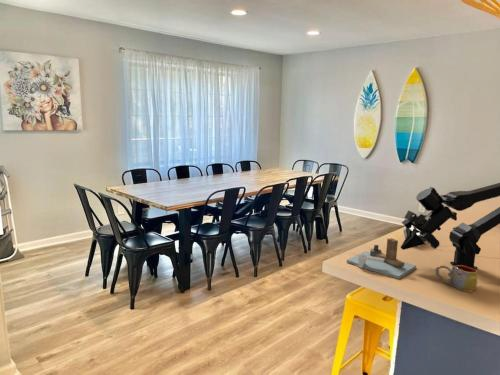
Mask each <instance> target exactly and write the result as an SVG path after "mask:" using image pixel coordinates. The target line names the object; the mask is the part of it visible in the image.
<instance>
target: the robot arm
mask: <svg viewBox="0 0 500 375" xmlns="http://www.w3.org/2000/svg"><path fill="white" fill-rule="evenodd" d="M497 197H500V182H498V183H494V184H491V185H485V186H484V187H479V188H475V189H471V190H457V191H456V190H455V191H449V192H447V193H446V194H444V195H443V194H441V195H440V194H439V193H438V191H437V189H436V188H435V187H433V186H430V187H428V188H426V189H424V190H422V191H420V192H418V193H417V195H416V197H415V199H416V200H417V201H418V202H419V203H420V205H421V206H422V207H423V208H424V210H426V211H428V212H429V211H430V212H429V213H428V214H422V213H421V212H418V213H415V212H413V211H411V210H407V213H406V214H405V215H404V220H403V221H401V224H402V225H403V226H404V227H406V228H407V230H408V235H407V237H406V239H405V238H404V240H403V242H402V244H401V246H400V249H401V250H408V249H411V248H415V247H417V246H420V245H422V246H426V245H427V244H426V243H428V244H429V245H430V247H431V248H432V249H434V250H436V249H437V248H438V247H439V246H440V240H438V238H436V236H435V235H434V234H433V233H434V232H436V231H440V230H442V228H441V227H442V225H443V224H445V223H446V222H447V221H448V220H450V219H451V220H453V221H457V220H458V217H457V215H458V213H457V212H458V211H459V212H462V211H465V210H467V209H469V208H471V207H473V206H474V204H476V203H477V204H478V203H480V202H482V201H488V200H489V199H490V200H492V199H494V198H497ZM444 205H445V206H444ZM452 209H453V210H455V211H456V212H455V211H453V210H452ZM499 225H500V206H499V207H497V208H496V209H494V210H492V211H491V212H489V213H488V214H486V215H484V216H482V217H481V218H479V219H478V220H476V221H474V222H472V223H471V224H466V223H464V222H461V223H460V224H458V225H457V226H455V227H452V230H451V231H450V232H449V235H448V236H449V241H450V242H451V244H452V246H453V248H455V250H454V255H453V256H454V257H453V261H450V262H449V263H450V264H451V265H452V266H456V265H464V266H467V267H470V268H473V269H475V270H478V267H477V266H476V265H475V260H476V255H479V254H480V252H481V250H482V248H481V247H480V246H479V245H478V244H477V243H478V242H479V241H480V238H481V237H482V235H484V234H485V233H487V232H489V231H491V230H492V229H493V228H495V227H497V226H499ZM426 241H427V242H426ZM425 242H426V243H425ZM420 247H421V246H420Z"/></svg>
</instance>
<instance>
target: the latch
mask: <svg viewBox="0 0 500 375" xmlns="http://www.w3.org/2000/svg"><path fill="white" fill-rule="evenodd" d="M398 243H399V242H398V240H397V239H394V238H387V240H386V248H385V249H386V250H385V251H386V252H385V253H383V252H382V250H381V249H379V244H373V248H370V251H369V252H370V255H371V256H373V257H379V258H385V260H384V261H386V262H388V263H390V264H392V265H394V266H397V267H404V262H405V261H402V260H400V259H397V253H398Z"/></svg>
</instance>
